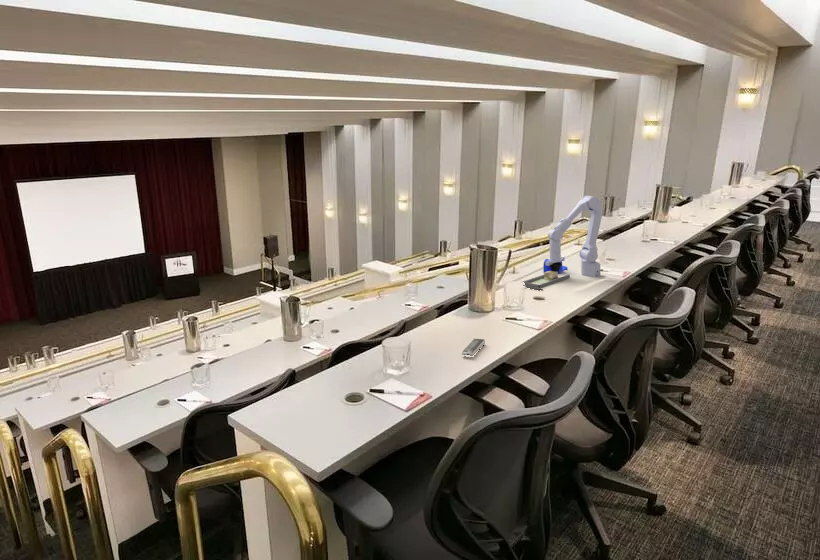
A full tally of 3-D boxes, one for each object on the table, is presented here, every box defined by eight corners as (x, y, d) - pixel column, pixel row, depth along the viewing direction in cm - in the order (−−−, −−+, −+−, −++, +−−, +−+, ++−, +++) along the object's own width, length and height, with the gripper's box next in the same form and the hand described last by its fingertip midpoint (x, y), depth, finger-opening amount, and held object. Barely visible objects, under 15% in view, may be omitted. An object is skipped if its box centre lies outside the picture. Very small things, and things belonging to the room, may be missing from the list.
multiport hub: (485, 344, 201) (485, 339, 201) (473, 359, 189) (472, 353, 188) (474, 343, 203) (474, 338, 203) (461, 357, 191) (461, 352, 190)
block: (557, 279, 282) (557, 271, 281) (552, 280, 279) (552, 273, 278) (549, 277, 285) (549, 270, 284) (544, 279, 282) (544, 272, 281)
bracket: (557, 276, 293) (557, 261, 291) (543, 275, 298) (543, 260, 296) (569, 269, 307) (569, 254, 304) (556, 268, 312) (555, 253, 309)
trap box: (569, 280, 283) (569, 274, 283) (539, 290, 267) (539, 285, 266) (551, 277, 292) (551, 272, 291) (521, 287, 276) (521, 282, 275)
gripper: (556, 248, 288) (556, 272, 292) (540, 253, 280) (540, 277, 283) (567, 249, 283) (567, 274, 286) (551, 254, 274) (551, 279, 277)
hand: (555, 276), depth 284 cm, fingers closed
